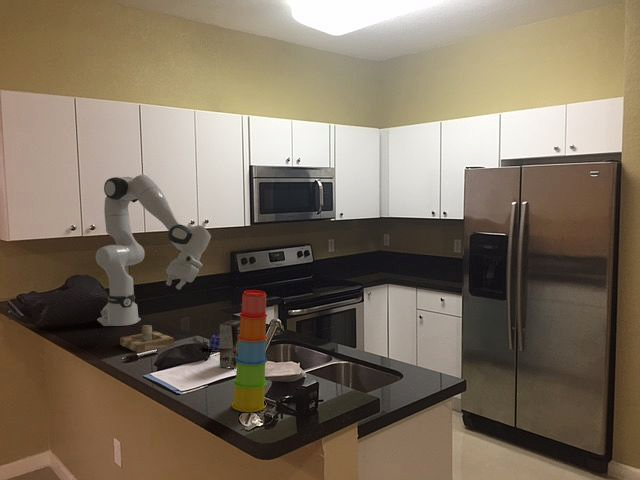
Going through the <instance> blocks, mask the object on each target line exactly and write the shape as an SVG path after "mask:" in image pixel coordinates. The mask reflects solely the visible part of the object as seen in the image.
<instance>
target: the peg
mask: <svg viewBox="0 0 640 480" xmlns="http://www.w3.org/2000/svg"><path fill="white" fill-rule="evenodd" d="M152 332H153V325H151V324H150V325H149V324H146V325H145V324H144V325H142V326H141V334H142V342H146V341H151V340H152Z"/></svg>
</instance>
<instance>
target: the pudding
mask: <svg viewBox="0 0 640 480" xmlns="http://www.w3.org/2000/svg"><path fill="white" fill-rule="evenodd" d="M207 345H209V348H210V349H212V351H211V352H213V351H214V352H217V351H220V334H213V335H211V336H210V339H209V344H207ZM209 348H208V349H209Z"/></svg>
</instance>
